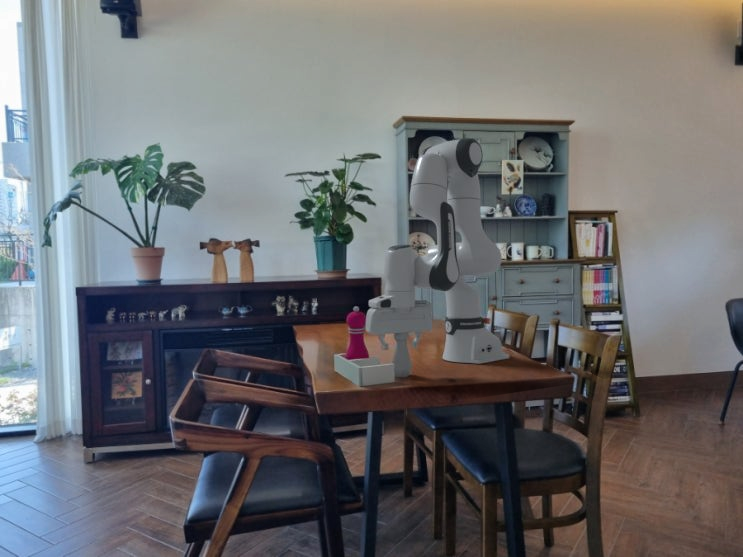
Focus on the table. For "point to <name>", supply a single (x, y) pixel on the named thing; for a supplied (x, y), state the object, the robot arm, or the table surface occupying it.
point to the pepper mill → (356, 335)
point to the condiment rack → (364, 370)
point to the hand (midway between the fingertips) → (399, 348)
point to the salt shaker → (401, 356)
